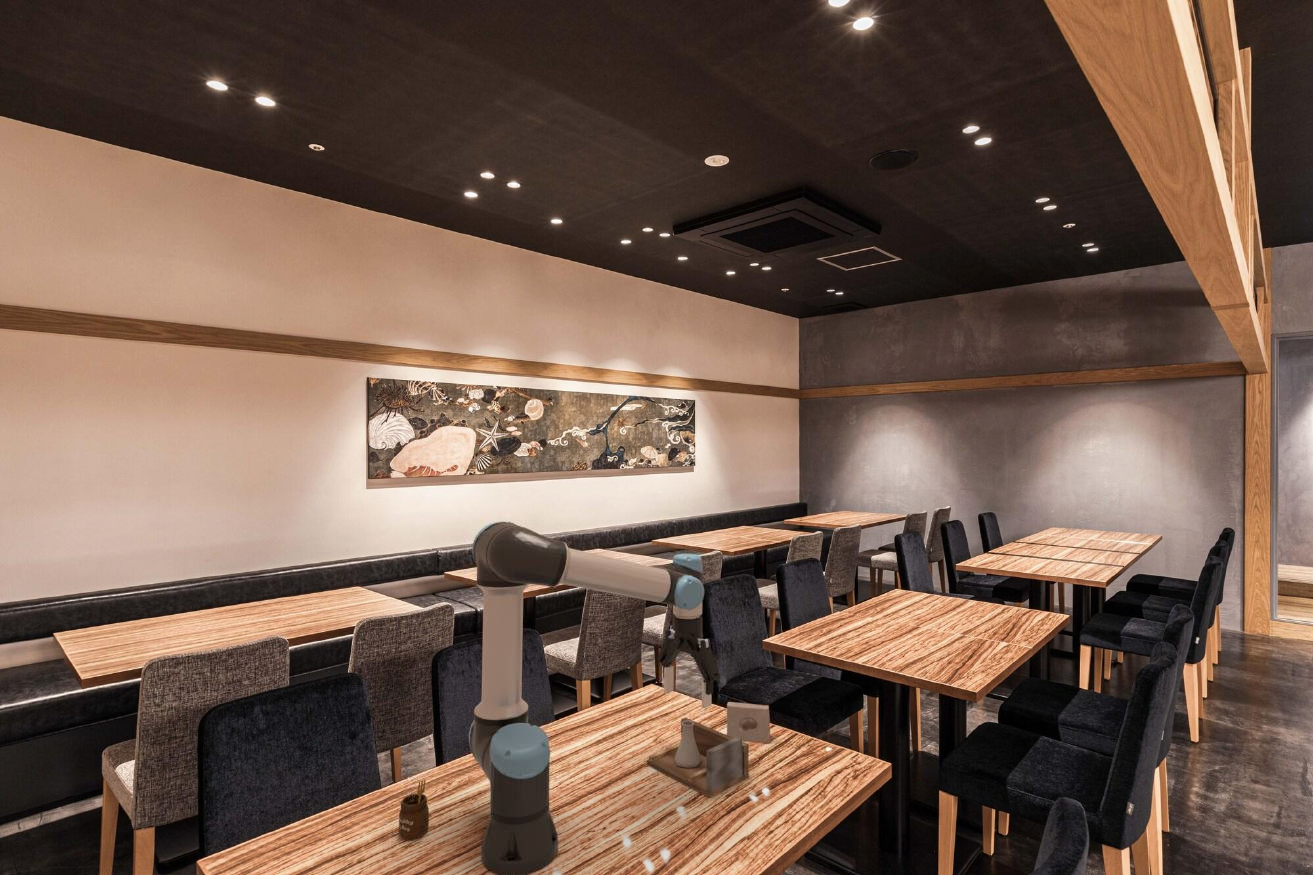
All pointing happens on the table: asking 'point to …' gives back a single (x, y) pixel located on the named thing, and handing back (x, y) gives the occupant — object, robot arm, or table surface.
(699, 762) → the flask
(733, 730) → the fossil
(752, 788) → the table surface
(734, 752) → the brown open box
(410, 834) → the utensil holder
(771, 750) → the table surface
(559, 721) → the table surface
